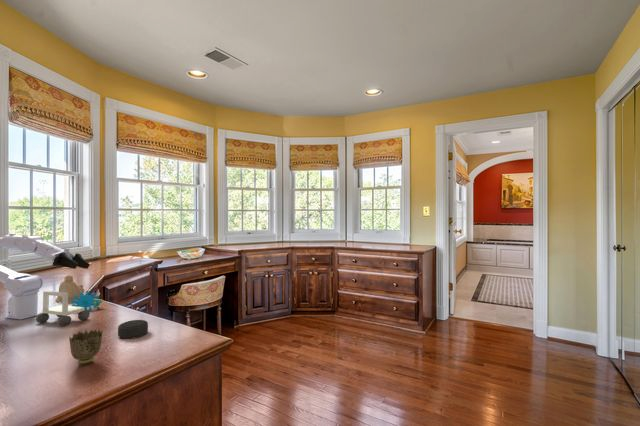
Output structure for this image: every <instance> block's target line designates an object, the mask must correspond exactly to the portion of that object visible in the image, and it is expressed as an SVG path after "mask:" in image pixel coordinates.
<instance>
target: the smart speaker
mask: <svg viewBox="0 0 640 426" xmlns="http://www.w3.org/2000/svg"><path fill="white" fill-rule="evenodd" d="M148 330H149V322H148V321H147V320H144V319H134V320H128V321H125V322H122V323H120V324H119V325H118V326H117V336H118V337H119V338H121V339H124V340H125V339H127V340H128V339H135V338H139V337H142V336H144V335H145V334H147V333H148V332H149V331H148Z"/></svg>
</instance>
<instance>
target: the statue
mask: <svg viewBox="0 0 640 426" xmlns="http://www.w3.org/2000/svg"><path fill="white" fill-rule="evenodd" d="M58 292H65V293H68V303H71V301H72V300H75V301H77V299H74V296H75V295H77V296H78V298H80V297H81V296H80V295H79V293H80V292H83V295H82V296H84V295H85V294H84V293H85V289H84V285H83V284H77V282H75V281H74V277H73V275H72V274H67V275H65V276H64V280H63V281H61V282H60V284H59V285H58ZM59 302H62V296H56V298H55V303H59Z"/></svg>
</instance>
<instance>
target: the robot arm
mask: <svg viewBox="0 0 640 426" xmlns="http://www.w3.org/2000/svg"><path fill="white" fill-rule="evenodd" d="M0 246H1V247H2V248H3V249H4V250H15V251H17V250H18V251H20V252H31V253H32V254H35V255H37V256H39V257H41V258H44V259H46V260H48V261H49V262H52V266H53V267H58V266H59V267H65V268H68V269H74V270H76V268H78V267H79V268H81V269H86V270H87V269H89V267H90V265H91V264H90V263H89V262H88V261H86V260H85V259H84V258H83V256H82V255H81V253H78V252H76V253H75V254H73V253H71V252H70V250H71V249H70V248H69V247H65V248H64V249H63V248H61V247H60V246H57V245H54V244H52V243H50V242H47V241H45V240H44V239H43V237H41V235H40V236H39V235H32V236H31V235H28V234H22V235H20V234H19V235H18V234H16V233H9V234H5V235H4V236H2V237H0ZM0 283H2V284H3V289H5V290H7V291H8V293H10V295H11V296H9V298H8V300H7V315H5V316H4V318H5V319H6V318H7V319H15V320H25V319H29V318H32V317H37V315H38V314H40V313H42V312H40V311H38V302H39V301H38V298H39V296H38V295H39V294H38V293H39V292H40V289H41V288H42V287H43V286H44V285H43V284H44V281H43V278H42V277H41V276H40V275H37V274H36V275H35V274H34V275H31V274H29V273H22V272H21V273H20V272H17V271H15V270H12V269H11V268H8V267H6V266H3V265H2V264H1V265H0Z"/></svg>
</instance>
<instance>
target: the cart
mask: <svg viewBox="0 0 640 426" xmlns="http://www.w3.org/2000/svg"><path fill="white" fill-rule="evenodd" d="M50 296H54V297H58V296H62V303H61V304H60V305H57V306H52V307H49V306H50V305H49V303H50ZM77 313H78V315H77V318H78V320H79V321H86V320H88V319H89V317H90V315H91V314H90V311H88V310H87V309H86V310H84V307H75V306H72V305H69V302H68V293H65V292H59V291H54V290H43V292H42V312H41V313H40V314H38V315H37V316H35V321H36V322H37V323H41V324H44V323H46V322H48V321H49V319H50V315H55V316H56V317H57V318H59V319H58V325H59V326H62V327H67V326H69V325H70V324H71V322H72V317H71V316H70V315H74V314H77Z"/></svg>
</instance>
